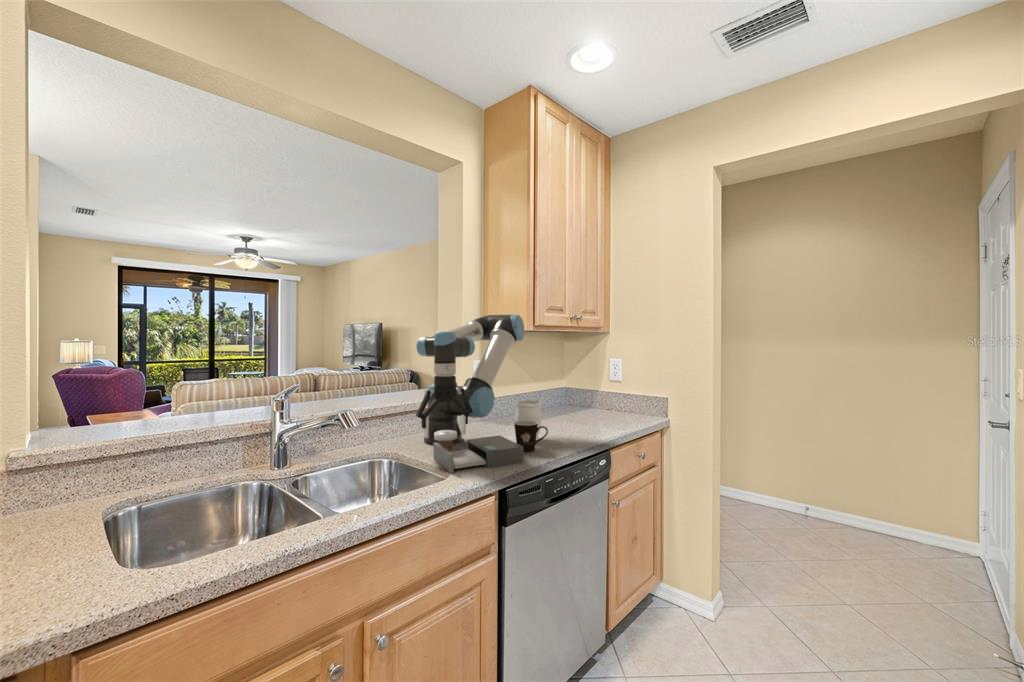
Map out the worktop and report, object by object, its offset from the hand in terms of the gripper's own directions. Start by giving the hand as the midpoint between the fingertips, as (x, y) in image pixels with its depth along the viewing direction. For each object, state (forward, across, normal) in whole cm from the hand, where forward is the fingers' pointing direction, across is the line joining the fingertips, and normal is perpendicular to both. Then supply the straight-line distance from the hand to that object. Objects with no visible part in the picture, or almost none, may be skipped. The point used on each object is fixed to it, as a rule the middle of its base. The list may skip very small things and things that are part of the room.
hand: (445, 435), depth 158 cm
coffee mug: (+7, +29, -9) cm, 31 cm away
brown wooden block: (+7, 0, 0) cm, 7 cm away
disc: (+1, 0, 0) cm, 1 cm away
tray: (+7, +1, -11) cm, 13 cm away
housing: (+7, +14, -11) cm, 19 cm away
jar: (+7, +37, +6) cm, 38 cm away
